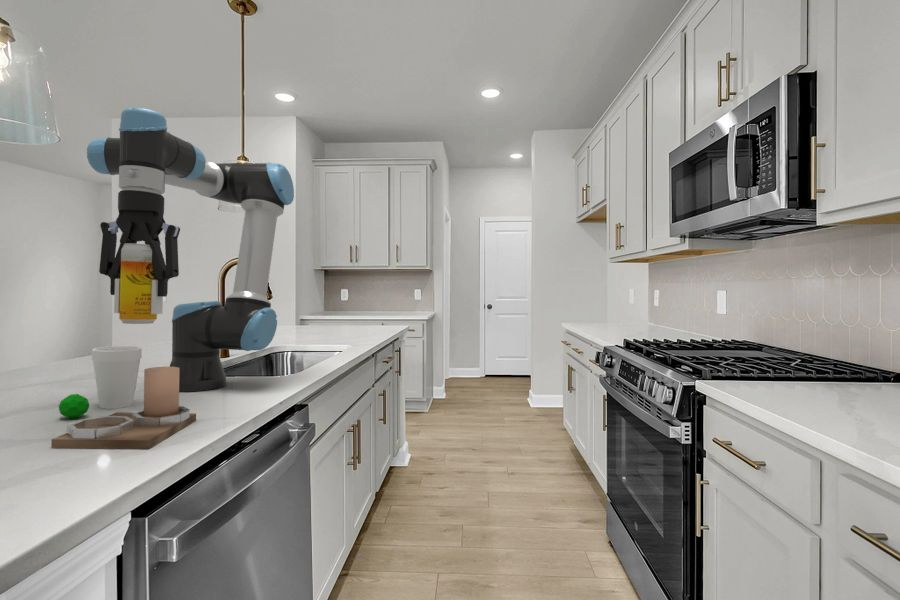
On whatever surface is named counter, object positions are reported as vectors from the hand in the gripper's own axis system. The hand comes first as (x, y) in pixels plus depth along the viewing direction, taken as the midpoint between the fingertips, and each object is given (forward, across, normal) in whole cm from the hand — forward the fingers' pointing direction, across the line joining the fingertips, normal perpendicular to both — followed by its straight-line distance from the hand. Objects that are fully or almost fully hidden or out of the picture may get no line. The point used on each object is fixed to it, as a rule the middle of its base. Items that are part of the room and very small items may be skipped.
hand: (138, 313), depth 95 cm
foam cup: (+22, -15, +20) cm, 33 cm away
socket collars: (+21, 0, -2) cm, 21 cm away
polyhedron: (+23, -17, +9) cm, 30 cm away
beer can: (+2, 0, 0) cm, 2 cm away
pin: (+21, +4, +3) cm, 21 cm away
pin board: (+23, 0, -2) cm, 23 cm away
